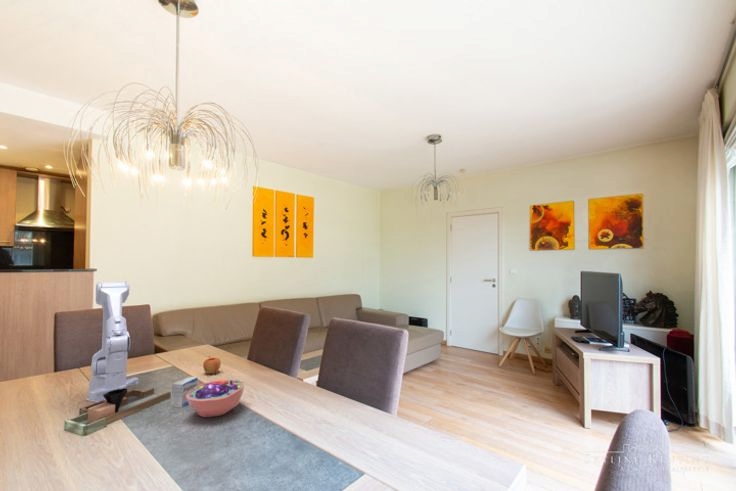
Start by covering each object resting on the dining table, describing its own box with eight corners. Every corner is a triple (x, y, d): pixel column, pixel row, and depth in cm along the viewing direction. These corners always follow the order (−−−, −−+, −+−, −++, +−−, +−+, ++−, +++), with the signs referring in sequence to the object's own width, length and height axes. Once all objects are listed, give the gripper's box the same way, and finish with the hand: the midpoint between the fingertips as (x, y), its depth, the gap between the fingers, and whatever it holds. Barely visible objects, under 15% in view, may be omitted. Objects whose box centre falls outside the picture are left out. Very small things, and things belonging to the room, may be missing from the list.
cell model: (255, 406, 122) (256, 375, 123) (208, 431, 104) (210, 394, 105) (222, 397, 129) (223, 368, 130) (173, 419, 111) (174, 385, 112)
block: (87, 422, 107) (88, 408, 107) (104, 415, 111) (105, 402, 112) (97, 425, 105) (98, 411, 105) (114, 418, 110) (115, 404, 110)
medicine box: (181, 409, 119) (182, 384, 119) (170, 407, 120) (172, 383, 120) (197, 400, 127) (198, 377, 127) (186, 398, 127) (188, 376, 128)
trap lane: (53, 426, 105) (54, 417, 105) (142, 392, 132) (142, 386, 132) (84, 435, 100) (84, 426, 100) (170, 399, 127) (170, 391, 127)
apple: (215, 376, 152) (216, 358, 152) (199, 376, 152) (200, 358, 153) (222, 371, 159) (223, 354, 160) (207, 370, 160) (208, 353, 160)
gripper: (100, 380, 105) (98, 424, 104) (145, 366, 118) (143, 405, 118) (86, 377, 107) (83, 420, 106) (131, 364, 121) (129, 402, 120)
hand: (113, 412), depth 112 cm, fingers closed
